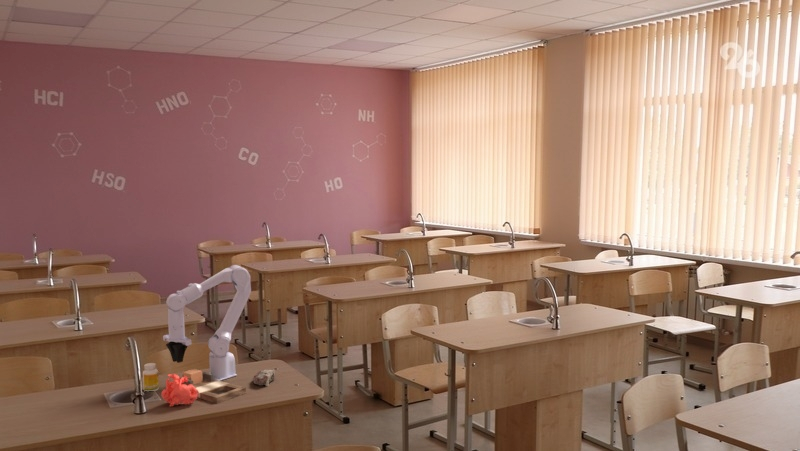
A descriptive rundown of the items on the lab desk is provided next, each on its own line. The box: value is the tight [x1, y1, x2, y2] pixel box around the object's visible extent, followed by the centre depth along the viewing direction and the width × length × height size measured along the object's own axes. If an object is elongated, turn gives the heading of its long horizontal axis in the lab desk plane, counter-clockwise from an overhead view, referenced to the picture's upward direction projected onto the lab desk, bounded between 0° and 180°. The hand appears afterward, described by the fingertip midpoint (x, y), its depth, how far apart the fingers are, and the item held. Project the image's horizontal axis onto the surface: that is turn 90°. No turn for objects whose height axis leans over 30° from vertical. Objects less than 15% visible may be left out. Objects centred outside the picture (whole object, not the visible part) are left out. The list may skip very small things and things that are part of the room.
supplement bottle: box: [142, 362, 160, 392], centre depth 249 cm, size 5×5×10 cm
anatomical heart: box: [161, 373, 198, 407], centre depth 233 cm, size 9×12×12 cm
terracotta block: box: [182, 368, 203, 384], centre depth 251 cm, size 5×5×4 cm
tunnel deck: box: [171, 371, 247, 404], centre depth 247 cm, size 13×28×4 cm, turn 54°
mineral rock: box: [252, 369, 276, 387], centre depth 258 cm, size 15×8×4 cm, turn 171°
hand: (177, 361), depth 256 cm, fingers closed
